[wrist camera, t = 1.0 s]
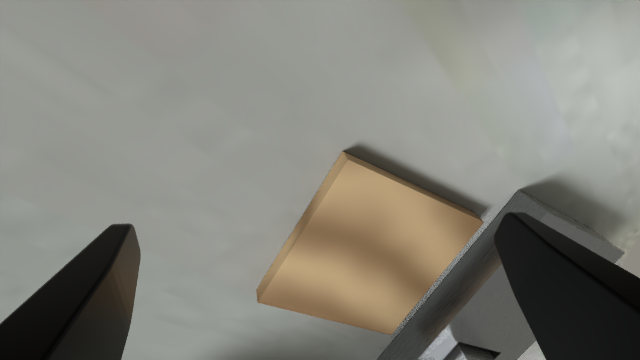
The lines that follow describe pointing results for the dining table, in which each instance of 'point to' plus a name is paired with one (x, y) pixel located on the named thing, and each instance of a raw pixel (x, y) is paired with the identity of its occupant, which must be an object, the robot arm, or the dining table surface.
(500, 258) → the robot arm
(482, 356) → the brushed metal block
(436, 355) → the rail
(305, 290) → the oak pad
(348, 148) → the dining table surface
